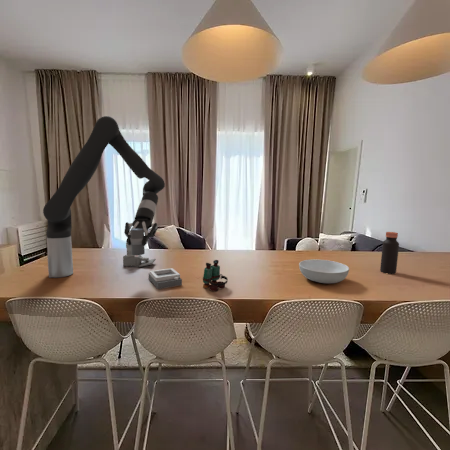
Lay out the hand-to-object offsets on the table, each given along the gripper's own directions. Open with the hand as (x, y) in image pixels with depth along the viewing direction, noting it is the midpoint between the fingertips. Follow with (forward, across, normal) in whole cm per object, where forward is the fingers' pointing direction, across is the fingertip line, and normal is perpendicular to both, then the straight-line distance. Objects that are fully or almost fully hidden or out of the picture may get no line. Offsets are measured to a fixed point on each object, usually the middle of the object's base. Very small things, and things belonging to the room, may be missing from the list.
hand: (136, 244), depth 109 cm
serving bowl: (+1, +78, +24) cm, 82 cm away
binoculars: (+12, +32, +12) cm, 37 cm away
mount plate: (+9, +10, +15) cm, 20 cm away
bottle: (-10, +114, +36) cm, 120 cm away
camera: (-7, -10, +31) cm, 33 cm away
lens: (+2, 0, +4) cm, 5 cm away
